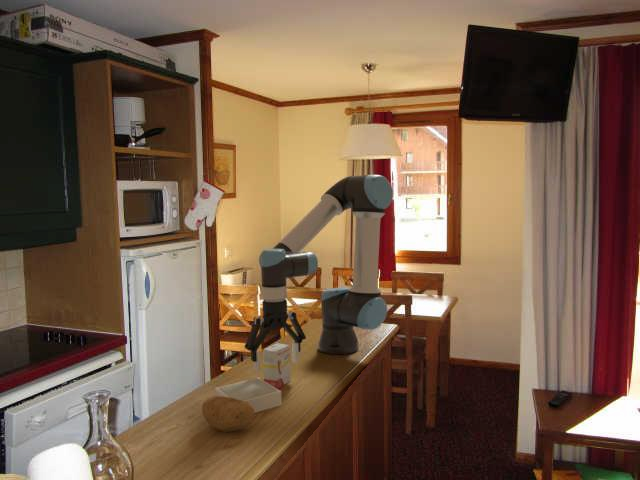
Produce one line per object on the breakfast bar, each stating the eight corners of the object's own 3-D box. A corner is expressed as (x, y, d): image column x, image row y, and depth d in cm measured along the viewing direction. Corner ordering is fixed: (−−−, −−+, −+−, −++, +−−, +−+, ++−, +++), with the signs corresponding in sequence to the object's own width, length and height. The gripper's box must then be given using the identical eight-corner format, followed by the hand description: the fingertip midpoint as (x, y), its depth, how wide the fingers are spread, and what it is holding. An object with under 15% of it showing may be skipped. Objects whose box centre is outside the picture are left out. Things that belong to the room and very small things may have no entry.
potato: (242, 442, 127) (241, 410, 126) (195, 433, 132) (193, 402, 132) (263, 425, 136) (262, 395, 135) (217, 417, 141) (216, 388, 141)
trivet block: (259, 390, 160) (258, 376, 159) (281, 405, 148) (281, 390, 148) (215, 401, 152) (214, 387, 152) (235, 418, 140) (235, 402, 140)
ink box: (276, 390, 159) (275, 352, 158) (263, 387, 162) (261, 350, 161) (291, 380, 167) (290, 344, 166) (278, 378, 169) (277, 342, 168)
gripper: (302, 292, 172) (304, 356, 174) (231, 302, 158) (234, 371, 160) (315, 296, 165) (317, 361, 167) (242, 307, 152) (245, 378, 154)
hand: (276, 366), depth 164 cm, fingers open, 13 cm apart
